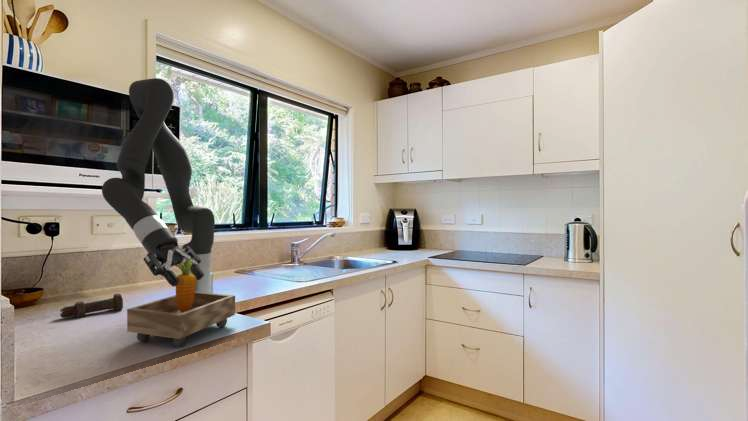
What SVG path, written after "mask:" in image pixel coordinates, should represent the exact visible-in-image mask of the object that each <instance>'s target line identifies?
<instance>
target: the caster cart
mask: <svg viewBox="0 0 748 421" xmlns="http://www.w3.org/2000/svg"><path fill="white" fill-rule="evenodd" d="M126 314H127V315H126V321H127V323H126V327H127V328H126V332H129V333H136V339H137V341H139V342H143V343H144V342H145V343H146V342H147V341H148V340H149V339H151V336H157V337H161V338H162V337H164V338H169V339H170V338H171V339H172V345H173V347H177V348H182V347H184V345H185V344H186V342H187V337H189V336H190V335H192V334H195V333H198V332H199V331H201V330H203V329H207V328H209V327H211V326H213V325H216V326H217V327H218V328H224V327H226V326H227V323H228V319H229V318H230V317H234V316H235V315H236V295H234V294H223V293H214V292H213V293H204V292H195V296H194V301H193V305H192V307H191V309H190V310H189V311H186V312H183V313H181V312H180V310H179V307H178V304H177V298H176V294H174V295H171V296H167V297H165V298H161V299H157V300H154V301H151V302H148V303H143V304H141V305H137V306H134V307H130V308H127V309H126Z"/></svg>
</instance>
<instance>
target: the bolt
mask: <svg viewBox="0 0 748 421" xmlns="http://www.w3.org/2000/svg"><path fill="white" fill-rule="evenodd" d="M123 300H124V299H123V297H122V294H121V293H113V296H112V297H111V298H106V299H102V300H97V301H91V302H84V301H77V302H75V304H74V305H70V306H65V307H64V306H63V308H61V309H60V310H59V311H60V312H61V313H59V315H60V318H62V319H66V318H71V317H76V318H82V317H85V316H86V315H87V314H92V313H96V312H101V311H106V310H115V311H116V312H120V311H122V310H123V307H124V301H123Z"/></svg>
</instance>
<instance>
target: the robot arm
mask: <svg viewBox="0 0 748 421" xmlns="http://www.w3.org/2000/svg"><path fill="white" fill-rule="evenodd" d="M128 94H129V95H128V96H129V100H130V102H131V105H132V107H133V109H134V111H135V113H136V116H137V117H138V119H139V120H138V122H137V123H136V125H135V126H134V127H133V128H132V129H131V130H130V132H129V133H128V135H127V136H126V137H125V139H124V142H123V143H122V146H121V149H120V151H119V155H118V158H117V162H116V168H117V170H118V171H119V173H120V174H121V177H111V178H108V179H106V181H104V182H103V184H102V187H101V194H102V196H103V198H104V200H105V201H106V202H107V204H109V206H110V207H111V208H113V210H115V211H116V212H117V213H118V214H119V215H120V216H121V217H122V218H123V219H124V220H125V222H126V224H127V225H128V226H129V227H130V228H131V230H132V231H133V233H134V235H135V237H136V238H137V240H138V242H139V243H140V244H141V246H143V248H144V250H145V251H146V252H147V254H146V255H145V256H144V258H143V259H142V260H143V262H144V264H146V266H147V268H148V269H149V270H150V272H151V274H152V275H153V276H154V277H157V276H159V275H160V276H161V277H164V279H165V280H166V281H167V283H168V284H169V285H170V286H171V287H176V285H177V284H178V283H179V279H178V278H177V276H178V275H176V274H175V272H174V271H173V270H171V268H173V267H174V266H175V267H177V266H176V265H177V264H179V265H180V266H181V264H182V263H183V264H184V267H185V269H186V267H187V260H191V263H192V266H191V268H190V272H189V274H193V275H194V276H195V277H196V289H195V292H204V293H214V273H213V272H212V248H213V244H214V243H215V242H214V240H215V228H216V227H215V226H216V222H215V215H214V213H213V210H211V209H210V208H209V207H205V206H204V207H203V206H194V204H193V201H192V198H191V194H190V184H191V179H192V176H193V175H192V173H193V169H192V168H193V167H192V164H191V161H190V159H189V155H188V152H187V150H186V148H185V146H184V145H183V144H182V142H181V141H180V140H179V139H178V137H177V136H175V135H174V133H173V132H172V131H171V129H169V128H168V126H167V125H166V123H165V120H166V118H167V116H168V114H169V113H170V111H171V109H172V106H173V105H174V102H175V92H174V89H173V87H172V86H171V84H170V83H169V82H168V81H166V80H165V79H162V78H159V77H155V78H154V77H153V78H147V79H139V80H136V81H133V82H132V83H131V84H130V85H129V87H128ZM152 151H153V155H154V157H155V160H156V163H157V166H158V169H159V171H160V174H161V176H162V178H163V181H164V184H165V186H166V190H167V192H168V195H169V196H168V197H169V199H170V202H171V207H172V211H173V213H174V219H175V221H176V225H177V226H178V228H179V229H180V231H182V232H184V233H187V234H191V240H190V241H189V242H186V243H185V244H183V245H182V246H181V247H179V240H178V238H177V237H176V236H175V235H174V233H173V232H172V231H171V229H170V228H169V227H168V226H167V225H166V222H164V221H163V220H162V219H161V218H160V217H159V215H158V214H157V213H156V211H155V210H154V209H153V207H152V206H150V204H148V203H146V202H145V201H143V198H144V195H145V189H146V188H145V187H146V184H145V183H146V182H145V180H146V179H145V178H146V174H145V172H146V169H147V165H148V162H149V160H150V156H151V155H150V154H151V152H152ZM181 274H183V273H182V272H181Z"/></svg>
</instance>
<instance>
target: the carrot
mask: <svg viewBox="0 0 748 421" xmlns="http://www.w3.org/2000/svg"><path fill="white" fill-rule="evenodd" d="M191 266H192V263H191V260H187V267H186V269H185V267H184V264H183V263H182V264H181V266H180V265H179V264H177V265H176V266H175V267H177V268H179V270H180V272H181V273H180V274H178V275H176V276H177V278H178V279H179V283H178V284H177V285H176V286H175V295H176V298H177V304H178V307H179V310H180V312H181V313H183V312H186V311H189V310H190V309H191V307H192V305H193V301H194V296H195V289H196V277H195V276H194V275H193V274H189V272H190V268H191ZM182 273H183V274H182Z"/></svg>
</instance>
